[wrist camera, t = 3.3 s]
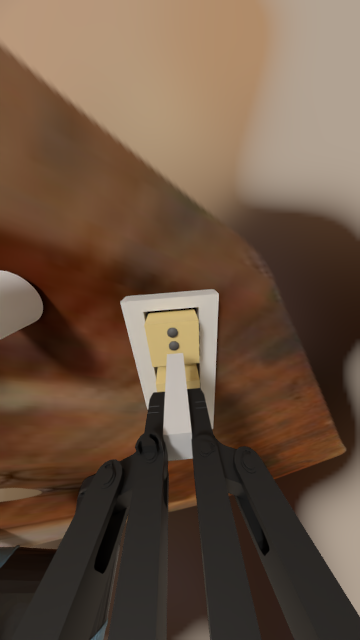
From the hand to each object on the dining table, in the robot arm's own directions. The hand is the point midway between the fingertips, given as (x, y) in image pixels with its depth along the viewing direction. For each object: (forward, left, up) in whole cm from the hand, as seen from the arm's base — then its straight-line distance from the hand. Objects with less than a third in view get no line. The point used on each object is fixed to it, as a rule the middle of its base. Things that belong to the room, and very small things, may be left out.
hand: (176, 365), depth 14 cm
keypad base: (-9, 0, -9) cm, 13 cm away
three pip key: (0, 0, -7) cm, 7 cm away
